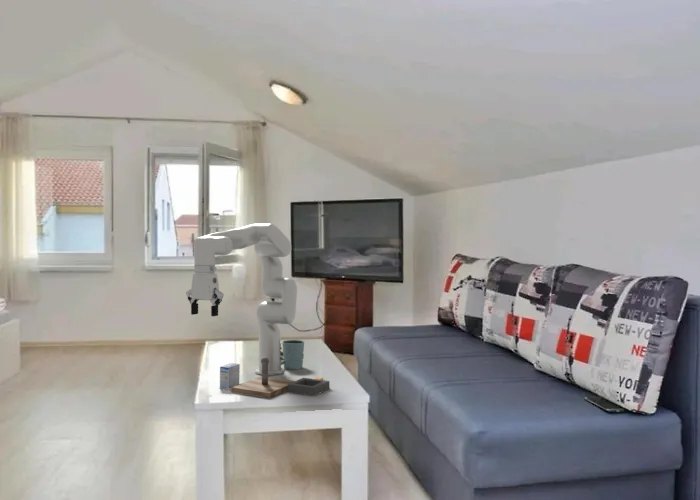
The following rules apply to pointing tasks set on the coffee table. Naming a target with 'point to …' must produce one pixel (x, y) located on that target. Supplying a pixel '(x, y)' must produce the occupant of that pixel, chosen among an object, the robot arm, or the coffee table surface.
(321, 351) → the coffee table surface
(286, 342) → the teal cup
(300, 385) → the grey square frame
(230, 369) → the medicine box
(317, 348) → the coffee table surface
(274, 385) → the wooden peg stand
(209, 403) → the coffee table surface
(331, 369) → the coffee table surface
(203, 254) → the robot arm
